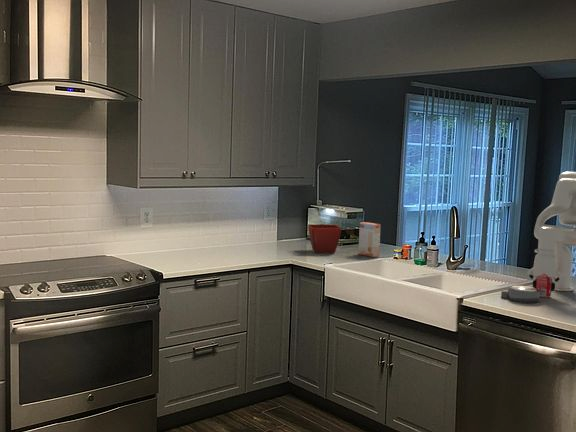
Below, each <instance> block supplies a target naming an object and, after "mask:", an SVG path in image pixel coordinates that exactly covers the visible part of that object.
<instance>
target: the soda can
mask: <svg viewBox="0 0 576 432" xmlns="http://www.w3.org/2000/svg"><path fill="white" fill-rule="evenodd" d="M543 273H545V272H543ZM551 284H552V279H551V278H549V277H548V276H547V275H546V274H541V275H540V276H537V278H536V289H538V290H540V298H546V299H547V298H549V297H551V295H552V291H551Z"/></svg>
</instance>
